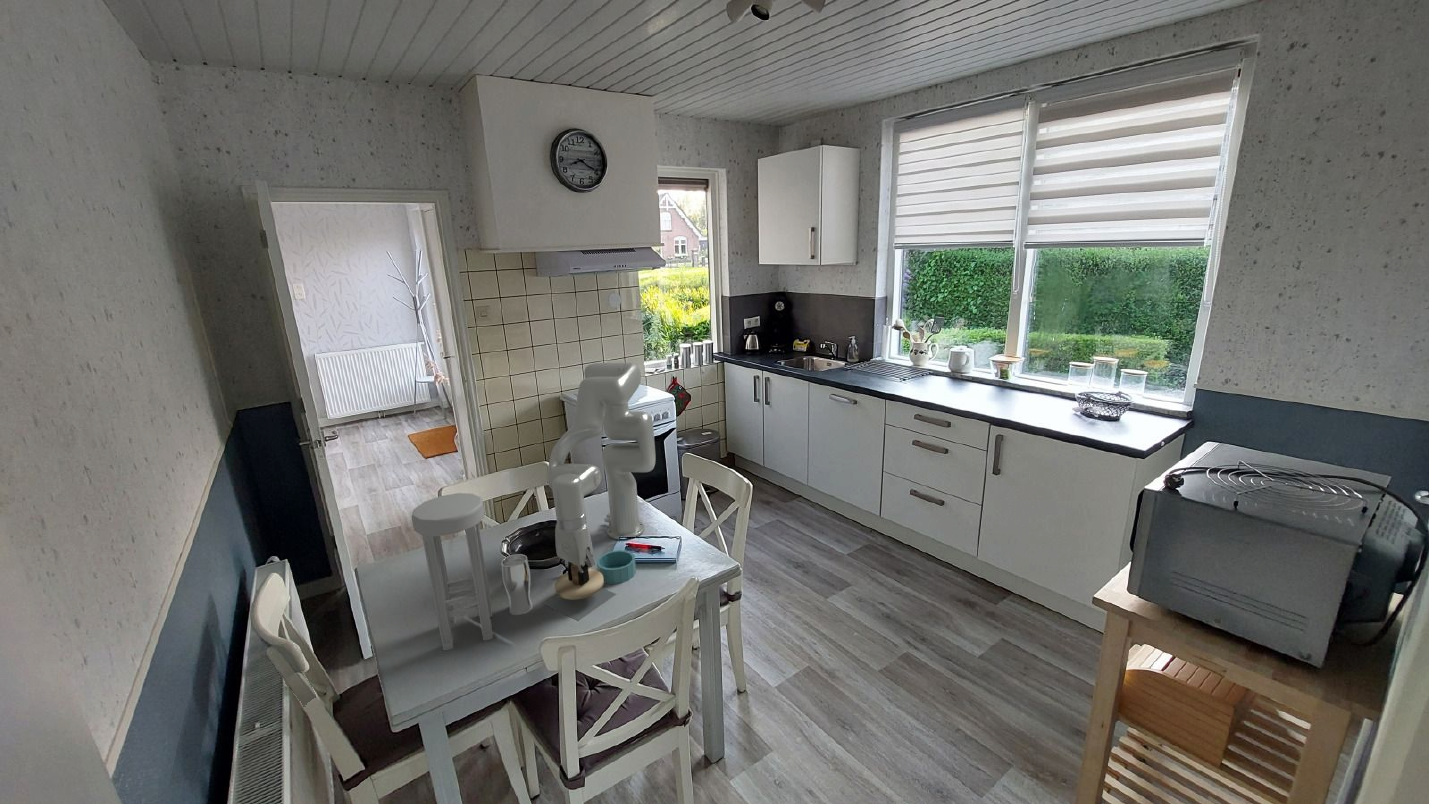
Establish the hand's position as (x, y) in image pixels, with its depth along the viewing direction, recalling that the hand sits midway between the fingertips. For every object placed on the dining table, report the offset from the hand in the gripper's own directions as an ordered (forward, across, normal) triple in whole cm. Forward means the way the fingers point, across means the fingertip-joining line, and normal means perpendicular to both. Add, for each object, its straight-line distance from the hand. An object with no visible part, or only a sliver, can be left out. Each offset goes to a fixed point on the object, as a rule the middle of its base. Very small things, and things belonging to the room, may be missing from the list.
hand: (579, 580), depth 159 cm
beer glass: (+6, -10, -12) cm, 17 cm away
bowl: (+6, 0, +14) cm, 16 cm away
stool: (+6, -14, -25) cm, 30 cm away
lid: (+2, 0, 0) cm, 2 cm away
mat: (+6, 0, -1) cm, 6 cm away
